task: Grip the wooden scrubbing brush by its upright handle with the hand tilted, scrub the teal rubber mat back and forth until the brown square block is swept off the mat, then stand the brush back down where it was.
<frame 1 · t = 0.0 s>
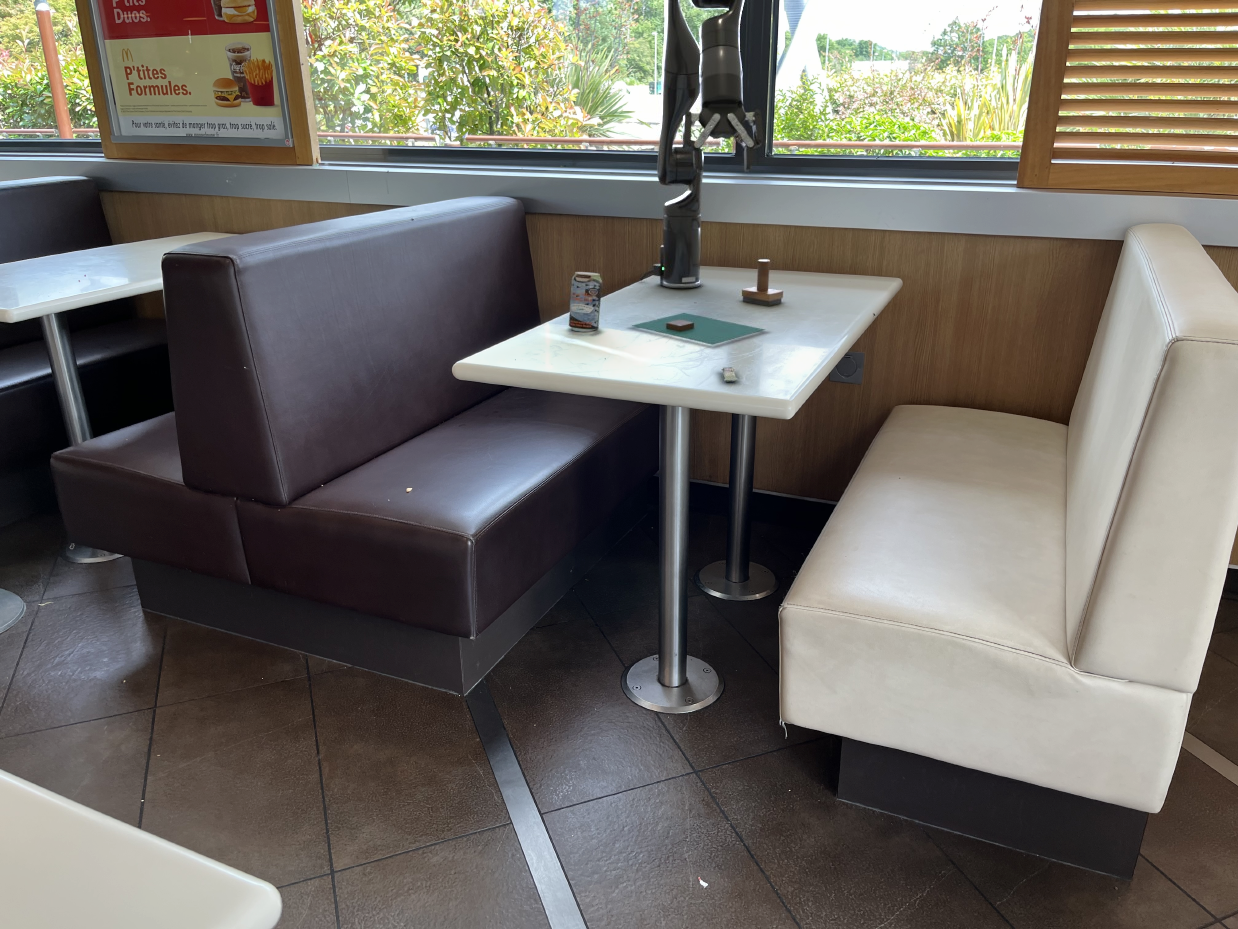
hand: (723, 171, 160), 31 cm above the table, tool tilted 20°, fingers open, 8 cm apart
beverage can: (586, 332, 181), on the table
brown square block: (680, 328, 180), point 1 cm above the table, touching mat
mat: (697, 330, 181), on the table
brush: (761, 302, 204), on the table
granola bar: (729, 378, 150), on the table
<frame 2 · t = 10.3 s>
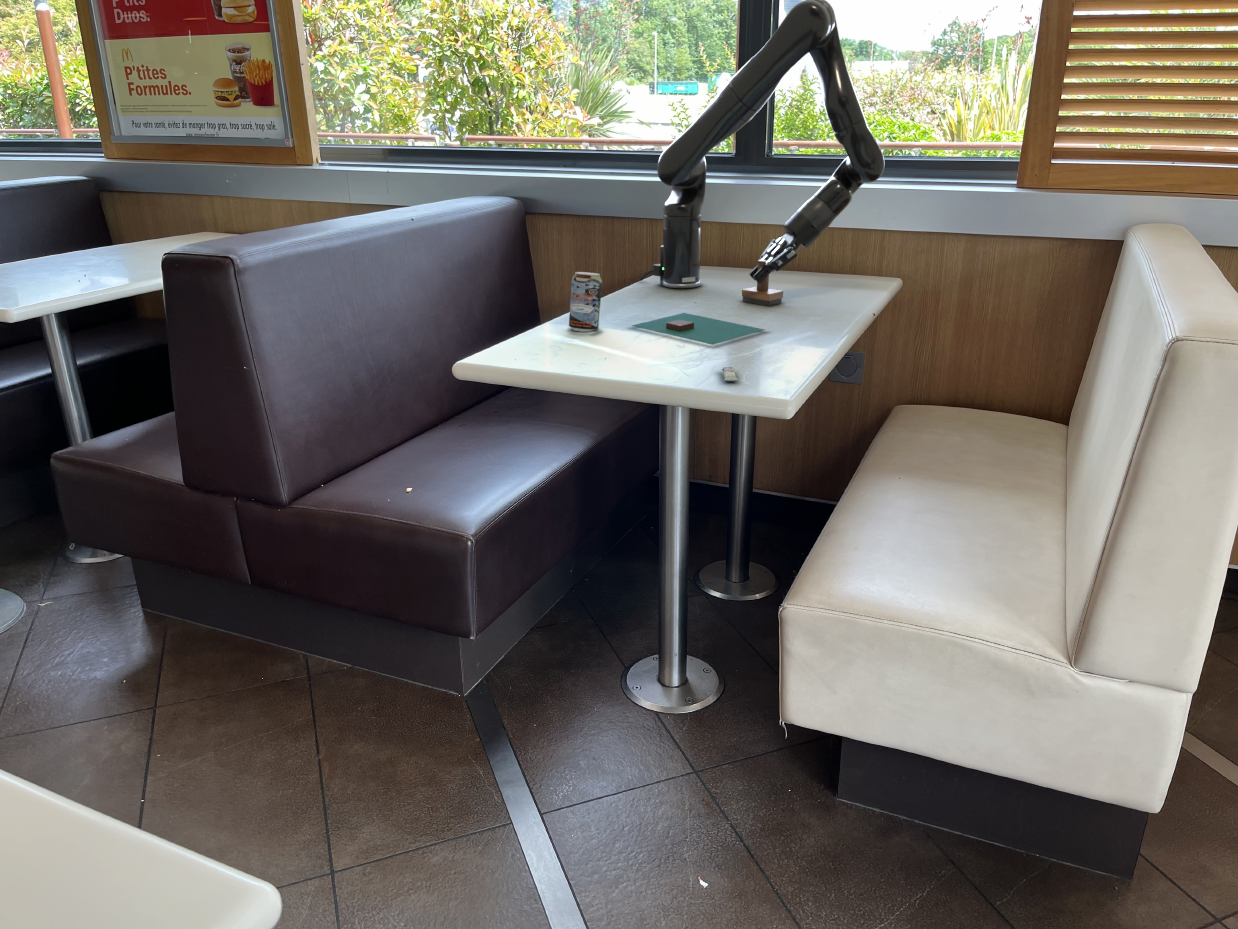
hand: (754, 278, 202), 5 cm above the table, tool tilted 45°, fingers closed on brush, 2 cm apart
brush: (761, 302, 204), on the table, touching gripper
everything else where it was.
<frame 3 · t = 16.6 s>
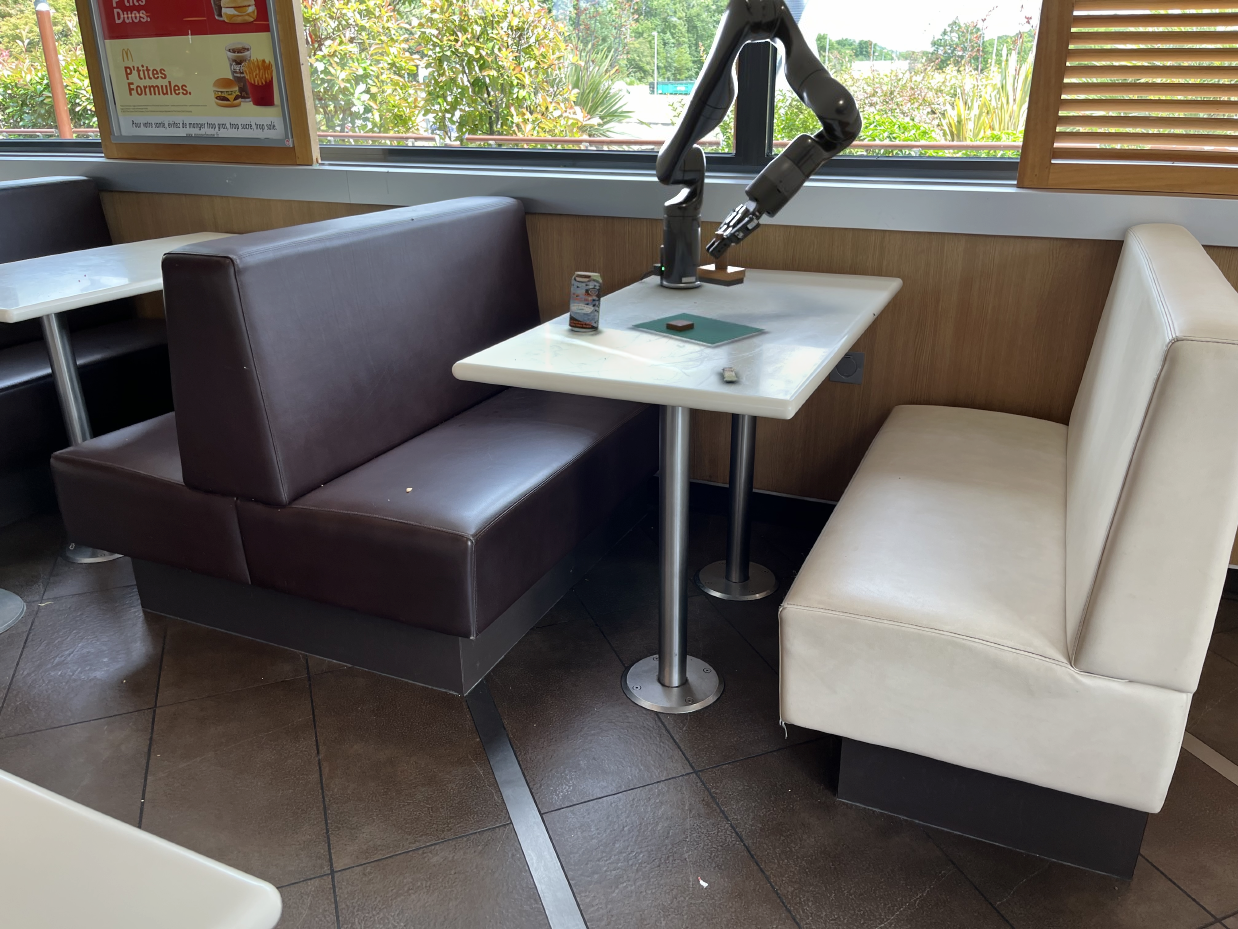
hand: (710, 254, 170), 16 cm above the table, tool tilted 45°, fingers closed on brush, 2 cm apart
brush: (720, 282, 172), point 11 cm above the table, touching gripper
everything else where it was.
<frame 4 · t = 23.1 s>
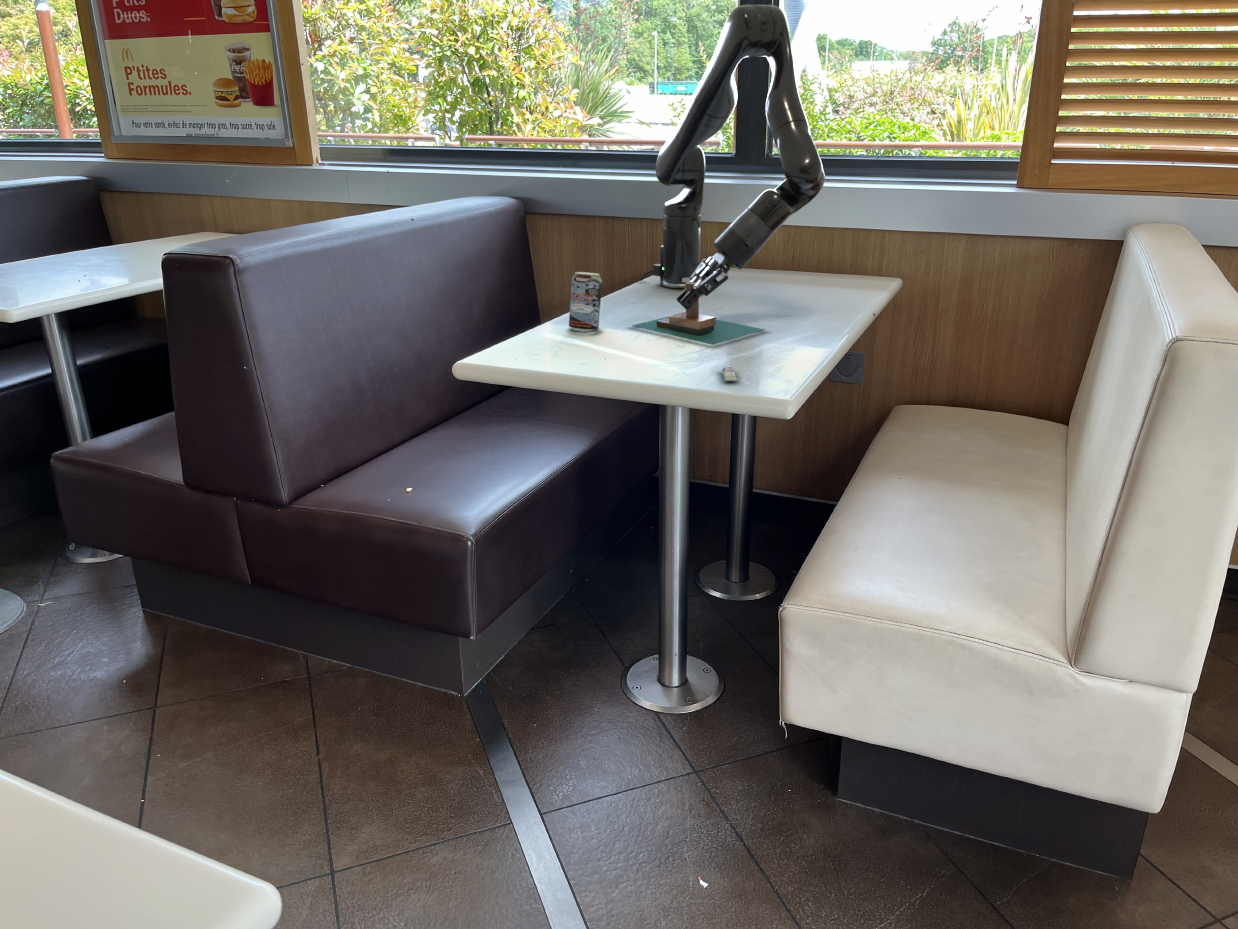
hand: (681, 304, 176), 6 cm above the table, tool tilted 45°, fingers closed on brush, 2 cm apart
brown square block: (670, 326, 182), point 1 cm above the table, touching brush, mat
brush: (692, 330, 178), point 1 cm above the table, touching brown square block, gripper, mat
everything else where it was.
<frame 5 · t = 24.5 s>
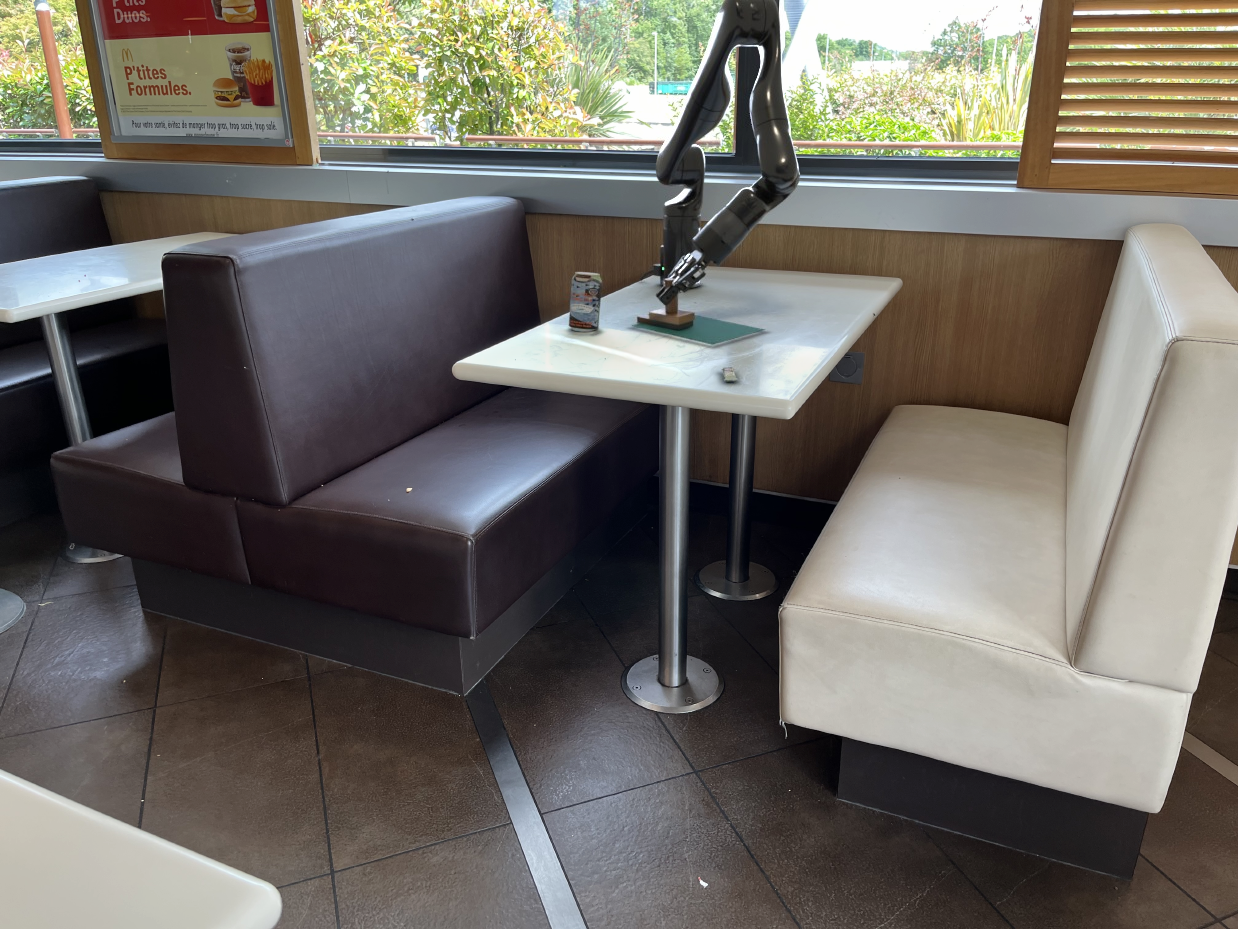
hand: (660, 300, 179), 6 cm above the table, tool tilted 45°, fingers closed on brush, 2 cm apart
brown square block: (650, 321, 186), point 1 cm above the table, touching brush, mat
brush: (671, 325, 182), point 1 cm above the table, touching brown square block, gripper
everything else where it was.
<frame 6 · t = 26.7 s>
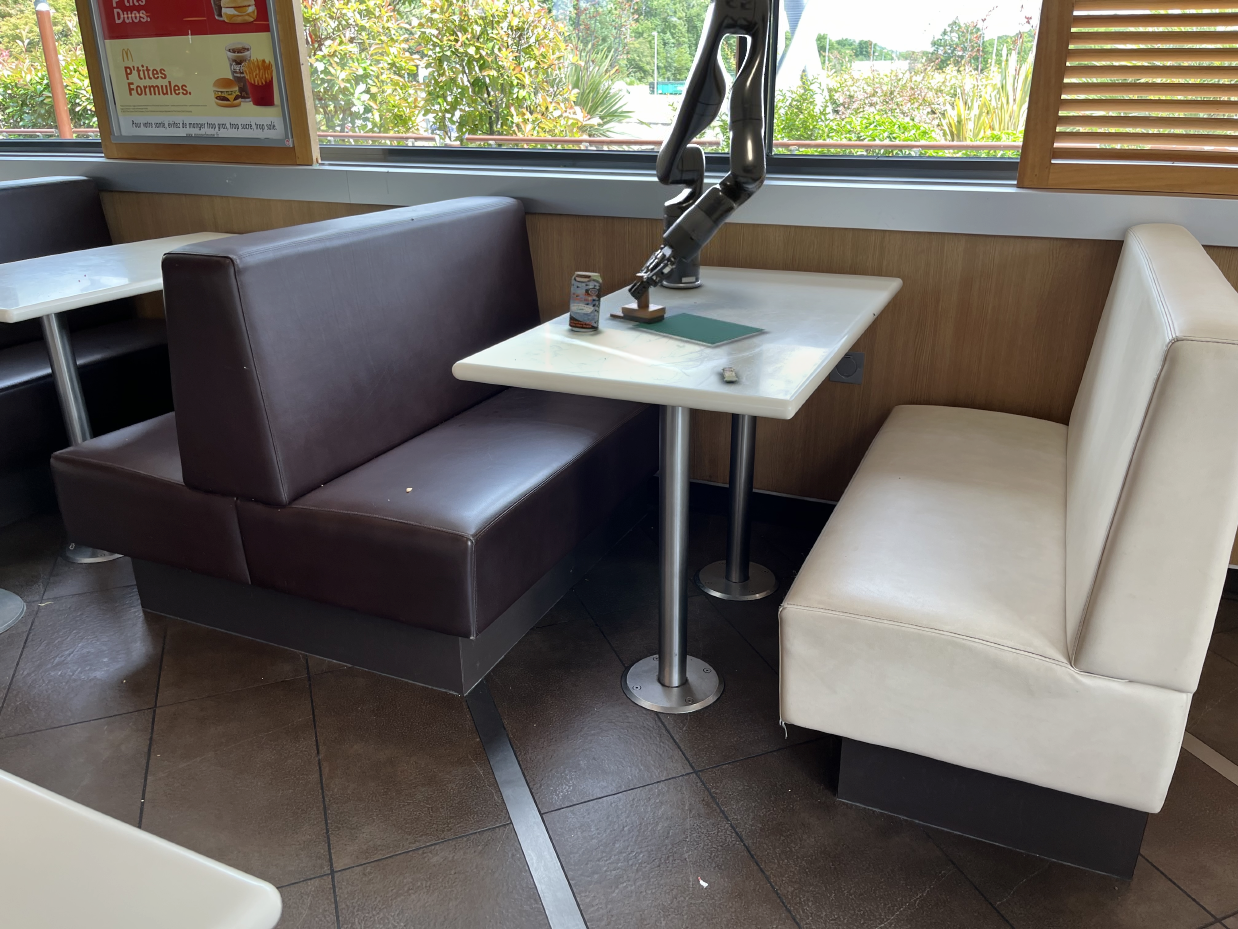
hand: (632, 295, 185), 6 cm above the table, tool tilted 45°, fingers closed on brush, 2 cm apart
brown square block: (623, 318, 191), on the table, touching brush
brush: (643, 319, 187), point 1 cm above the table, touching brown square block, gripper
everything else where it was.
when the fingers open (5 cm above the table, at t = 35.9 s): brush stays where it is, on the table.
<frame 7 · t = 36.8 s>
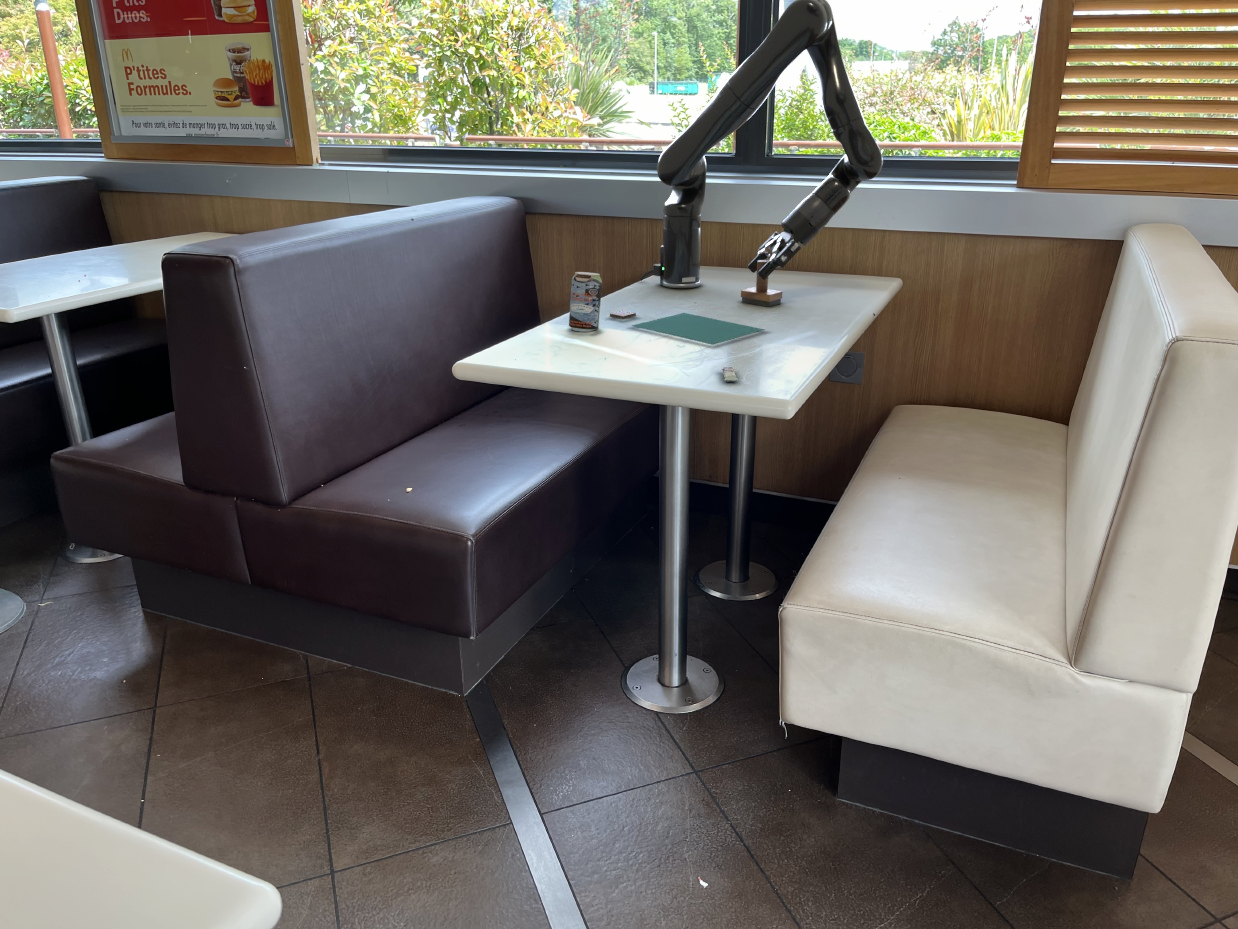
hand: (755, 273, 201), 7 cm above the table, tool tilted 45°, fingers open, 8 cm apart
brown square block: (622, 318, 191), on the table
brush: (761, 302, 204), on the table
everything else where it was.
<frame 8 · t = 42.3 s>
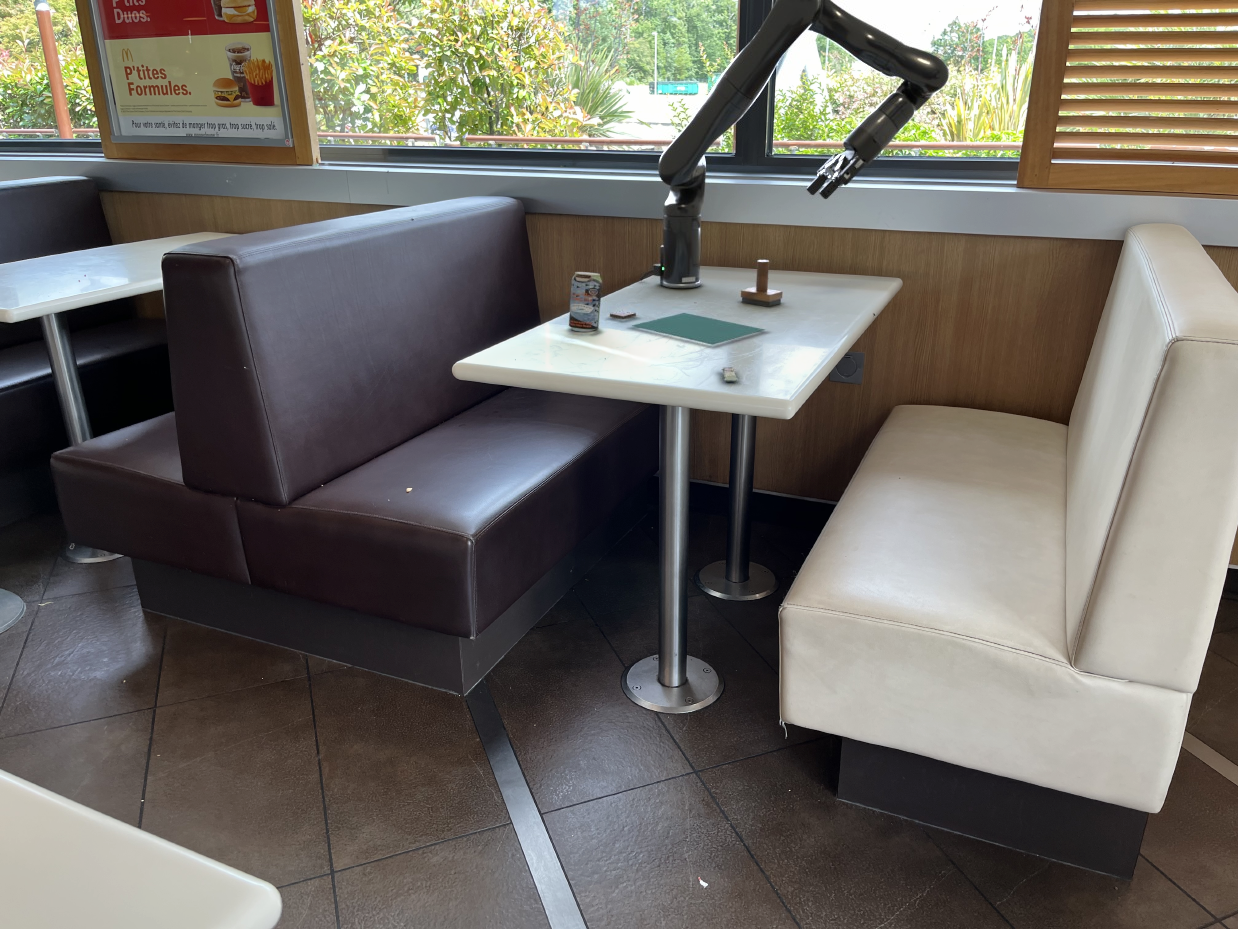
hand: (815, 194, 196), 24 cm above the table, tool tilted 45°, fingers open, 8 cm apart
nothing on the table moved.
at the end: brown square block touching table; brush tilted 0°; brush inside the target area (0.4 cm from its centre), on the table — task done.
